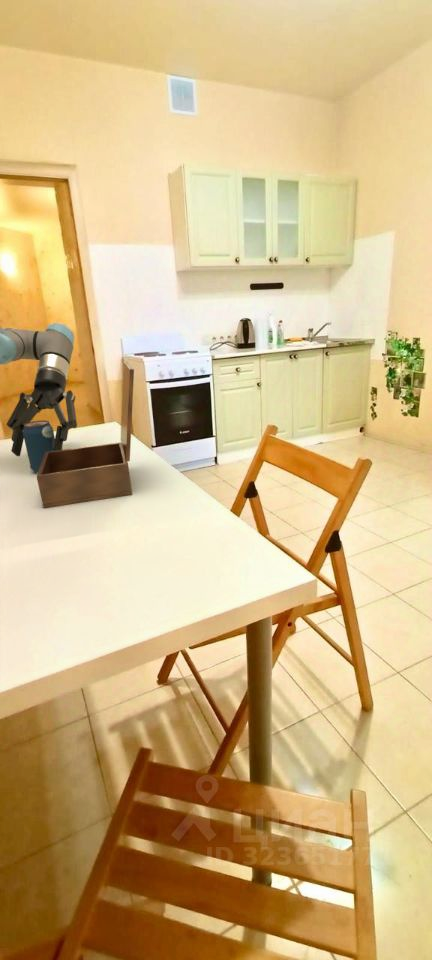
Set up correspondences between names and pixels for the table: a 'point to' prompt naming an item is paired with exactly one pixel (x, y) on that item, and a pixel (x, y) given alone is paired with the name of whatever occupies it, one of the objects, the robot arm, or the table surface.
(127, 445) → the lid
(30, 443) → the soda can
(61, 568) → the table surface
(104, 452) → the brown wooden open box
